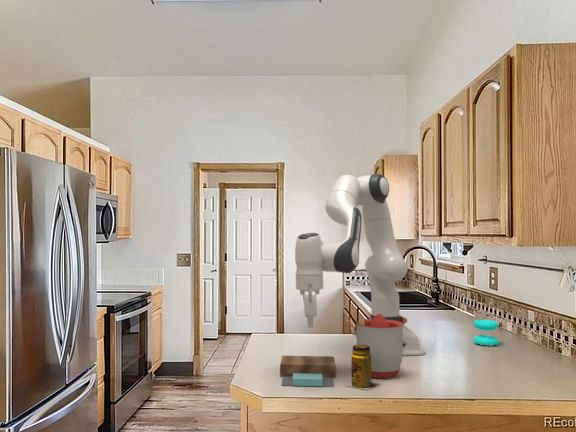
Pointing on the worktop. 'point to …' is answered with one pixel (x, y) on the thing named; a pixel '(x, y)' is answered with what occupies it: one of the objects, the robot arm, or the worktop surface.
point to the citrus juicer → (382, 344)
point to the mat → (325, 383)
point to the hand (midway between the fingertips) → (310, 326)
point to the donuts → (487, 326)
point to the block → (307, 379)
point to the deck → (308, 365)
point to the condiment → (361, 368)
